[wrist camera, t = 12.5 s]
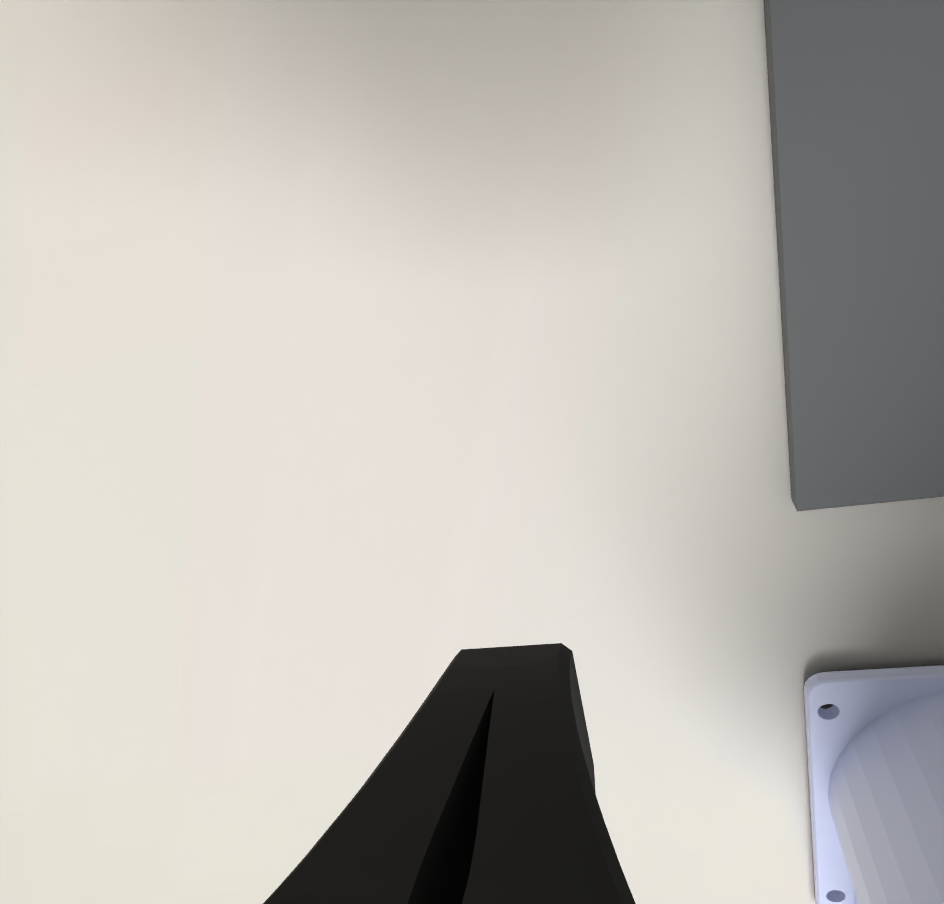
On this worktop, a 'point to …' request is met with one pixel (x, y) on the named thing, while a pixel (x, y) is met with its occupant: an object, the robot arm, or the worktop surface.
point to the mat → (860, 244)
